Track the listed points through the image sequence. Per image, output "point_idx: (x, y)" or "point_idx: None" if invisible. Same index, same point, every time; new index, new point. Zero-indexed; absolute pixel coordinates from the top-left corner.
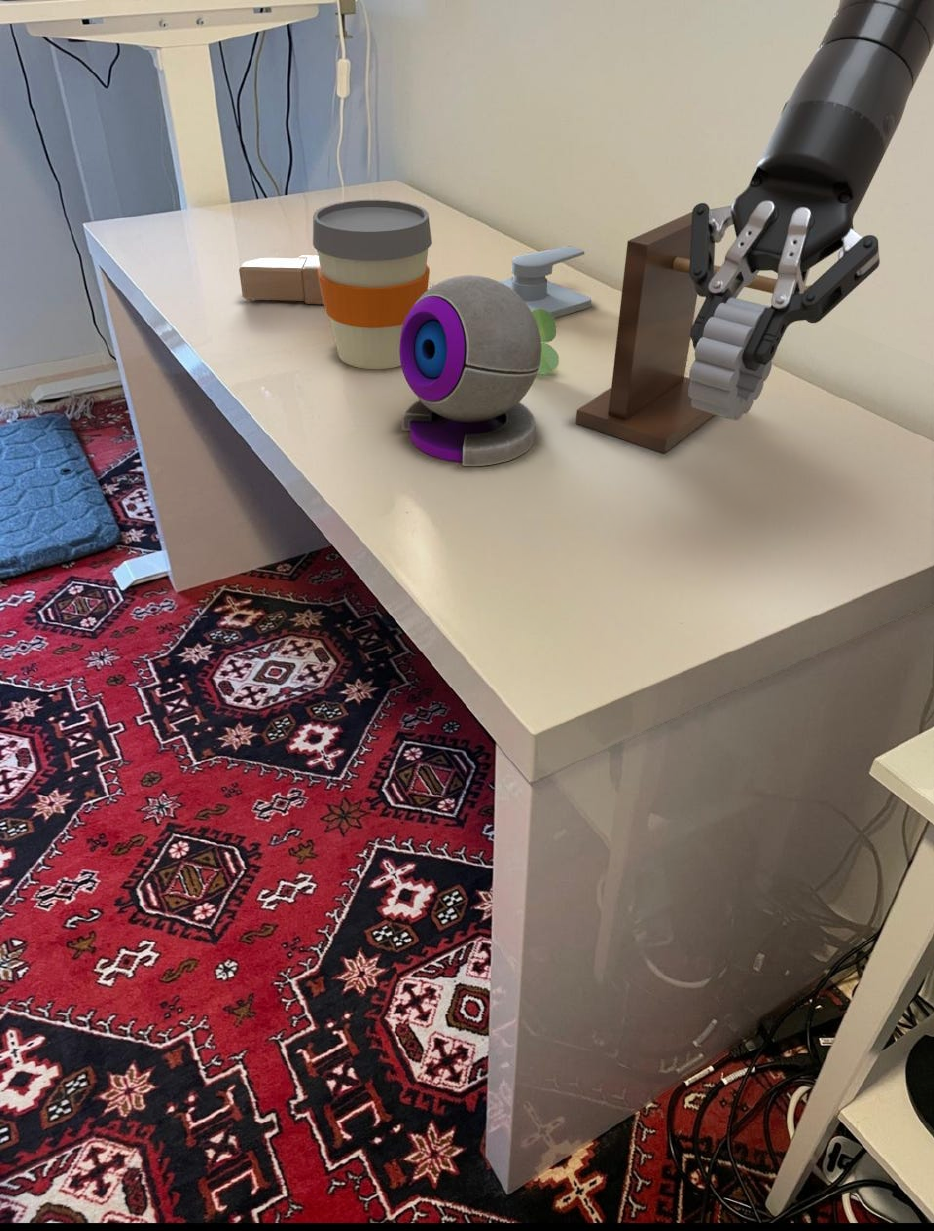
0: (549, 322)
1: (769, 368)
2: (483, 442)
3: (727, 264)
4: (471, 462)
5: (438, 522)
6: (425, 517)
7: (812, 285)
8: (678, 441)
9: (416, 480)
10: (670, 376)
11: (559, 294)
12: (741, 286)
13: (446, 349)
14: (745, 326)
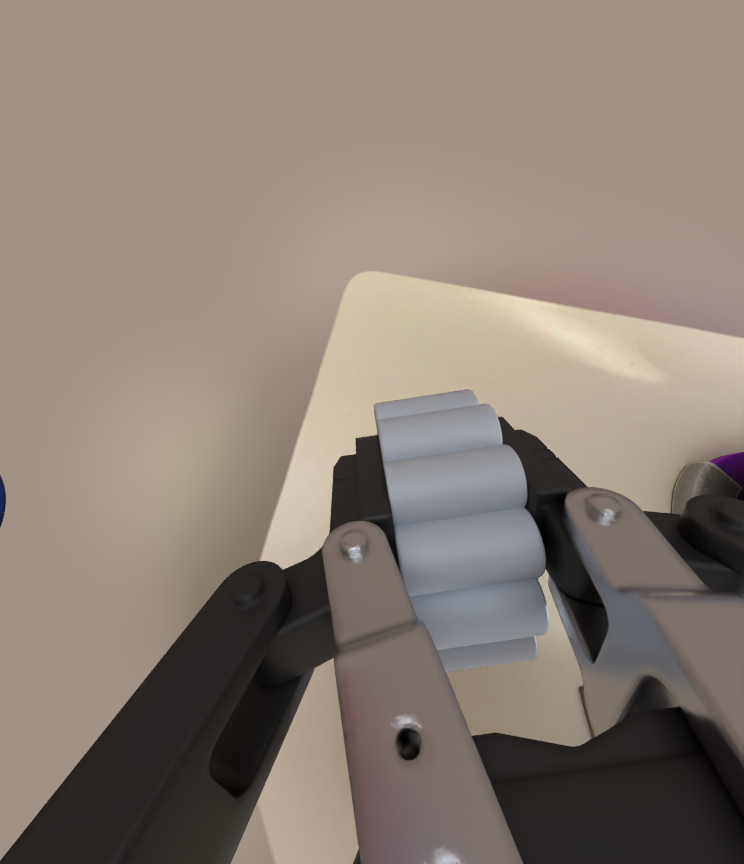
0: None
1: None
2: (711, 489)
3: (678, 587)
4: (686, 469)
5: (599, 373)
6: (614, 370)
7: (252, 641)
8: (592, 736)
9: (685, 408)
10: None
11: None
12: (580, 648)
13: None
14: (398, 440)
